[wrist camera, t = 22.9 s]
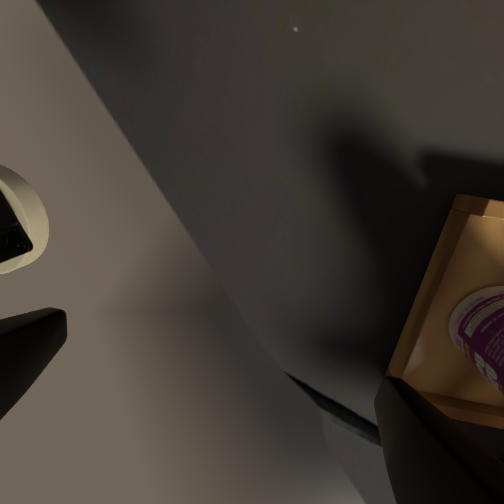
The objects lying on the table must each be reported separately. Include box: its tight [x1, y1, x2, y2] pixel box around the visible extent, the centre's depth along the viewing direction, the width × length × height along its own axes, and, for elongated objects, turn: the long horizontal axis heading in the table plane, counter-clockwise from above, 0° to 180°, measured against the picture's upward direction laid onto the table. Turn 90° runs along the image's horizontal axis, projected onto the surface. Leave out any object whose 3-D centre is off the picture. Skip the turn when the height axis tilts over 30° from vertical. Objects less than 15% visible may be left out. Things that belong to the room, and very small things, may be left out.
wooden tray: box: [384, 194, 504, 429], centre depth 18 cm, size 9×15×4 cm, turn 170°
